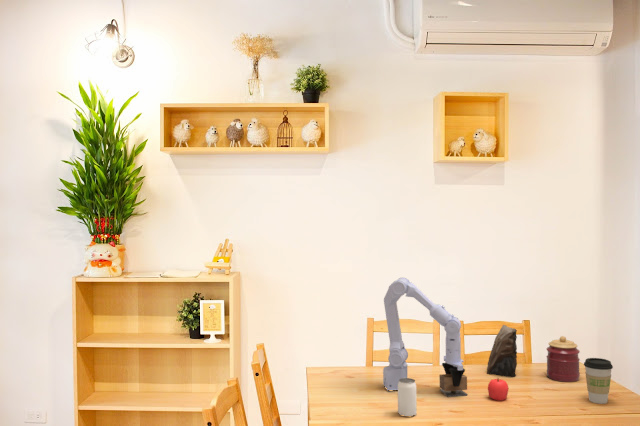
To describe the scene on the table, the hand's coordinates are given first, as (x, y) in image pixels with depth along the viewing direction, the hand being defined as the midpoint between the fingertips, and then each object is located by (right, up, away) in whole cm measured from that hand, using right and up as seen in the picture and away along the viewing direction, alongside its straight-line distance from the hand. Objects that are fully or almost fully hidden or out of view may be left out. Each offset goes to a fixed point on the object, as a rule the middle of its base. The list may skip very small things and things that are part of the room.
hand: (453, 383), depth 231 cm
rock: (+27, -3, +27) cm, 38 cm away
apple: (+15, -4, -7) cm, 17 cm away
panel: (0, -4, 0) cm, 4 cm away
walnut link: (0, -2, 0) cm, 2 cm away
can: (-21, -4, -23) cm, 31 cm away
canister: (+51, -3, +19) cm, 54 cm away
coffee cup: (+52, -4, -11) cm, 53 cm away
